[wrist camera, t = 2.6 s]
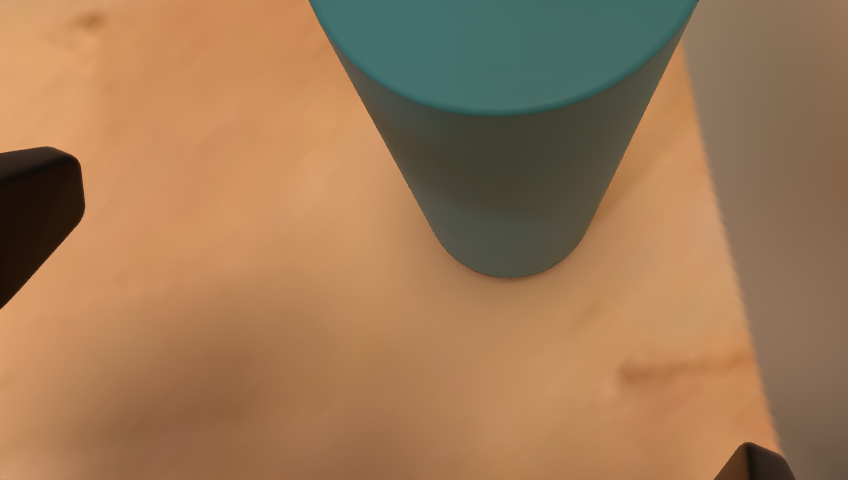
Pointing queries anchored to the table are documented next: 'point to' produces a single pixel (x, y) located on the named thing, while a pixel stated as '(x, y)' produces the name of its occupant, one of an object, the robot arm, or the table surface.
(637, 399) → the table surface
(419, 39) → the dauber
